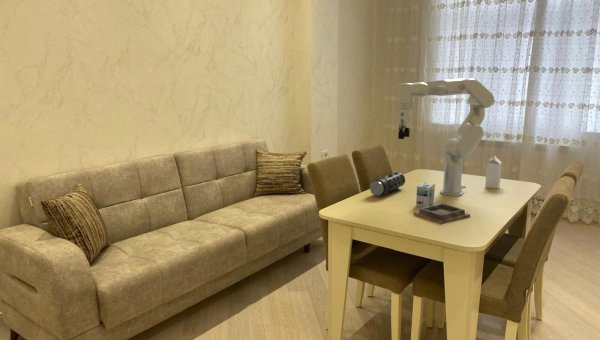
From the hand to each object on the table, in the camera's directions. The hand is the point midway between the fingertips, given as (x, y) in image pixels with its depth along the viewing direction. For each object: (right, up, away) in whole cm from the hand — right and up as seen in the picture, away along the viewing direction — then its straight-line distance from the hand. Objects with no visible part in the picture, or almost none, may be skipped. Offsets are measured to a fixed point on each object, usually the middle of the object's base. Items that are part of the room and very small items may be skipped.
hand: (403, 137), depth 240 cm
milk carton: (+60, -28, +26) cm, 71 cm away
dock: (+11, -40, -30) cm, 51 cm away
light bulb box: (+9, -36, -10) cm, 39 cm away
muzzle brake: (-6, -31, +13) cm, 35 cm away
